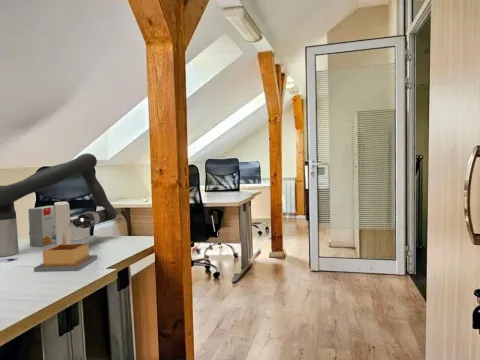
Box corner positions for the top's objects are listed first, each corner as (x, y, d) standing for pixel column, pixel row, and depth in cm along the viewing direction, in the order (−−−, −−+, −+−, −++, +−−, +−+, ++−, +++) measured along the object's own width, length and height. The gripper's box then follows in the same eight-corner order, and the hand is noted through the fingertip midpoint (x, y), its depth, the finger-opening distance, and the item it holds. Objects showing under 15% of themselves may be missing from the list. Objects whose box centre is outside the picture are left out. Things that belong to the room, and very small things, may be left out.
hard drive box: (42, 246, 192) (40, 208, 190) (29, 246, 193) (27, 209, 192) (61, 240, 207) (59, 205, 206) (49, 240, 208) (47, 205, 207)
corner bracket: (75, 240, 205) (74, 219, 204) (64, 238, 212) (63, 217, 211) (92, 237, 213) (91, 216, 213) (82, 235, 220) (81, 215, 219)
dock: (34, 271, 146) (32, 253, 146) (57, 259, 164) (56, 242, 164) (78, 270, 146) (77, 251, 145) (97, 258, 164) (96, 241, 163)
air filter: (66, 256, 168) (62, 202, 167) (53, 256, 170) (50, 202, 168) (75, 253, 175) (72, 201, 173) (63, 253, 176) (60, 201, 175)
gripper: (76, 212, 192) (54, 217, 176) (100, 212, 189) (80, 217, 173) (77, 226, 192) (55, 232, 177) (101, 226, 189) (81, 233, 174)
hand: (67, 225), depth 175 cm, fingers open, 8 cm apart
